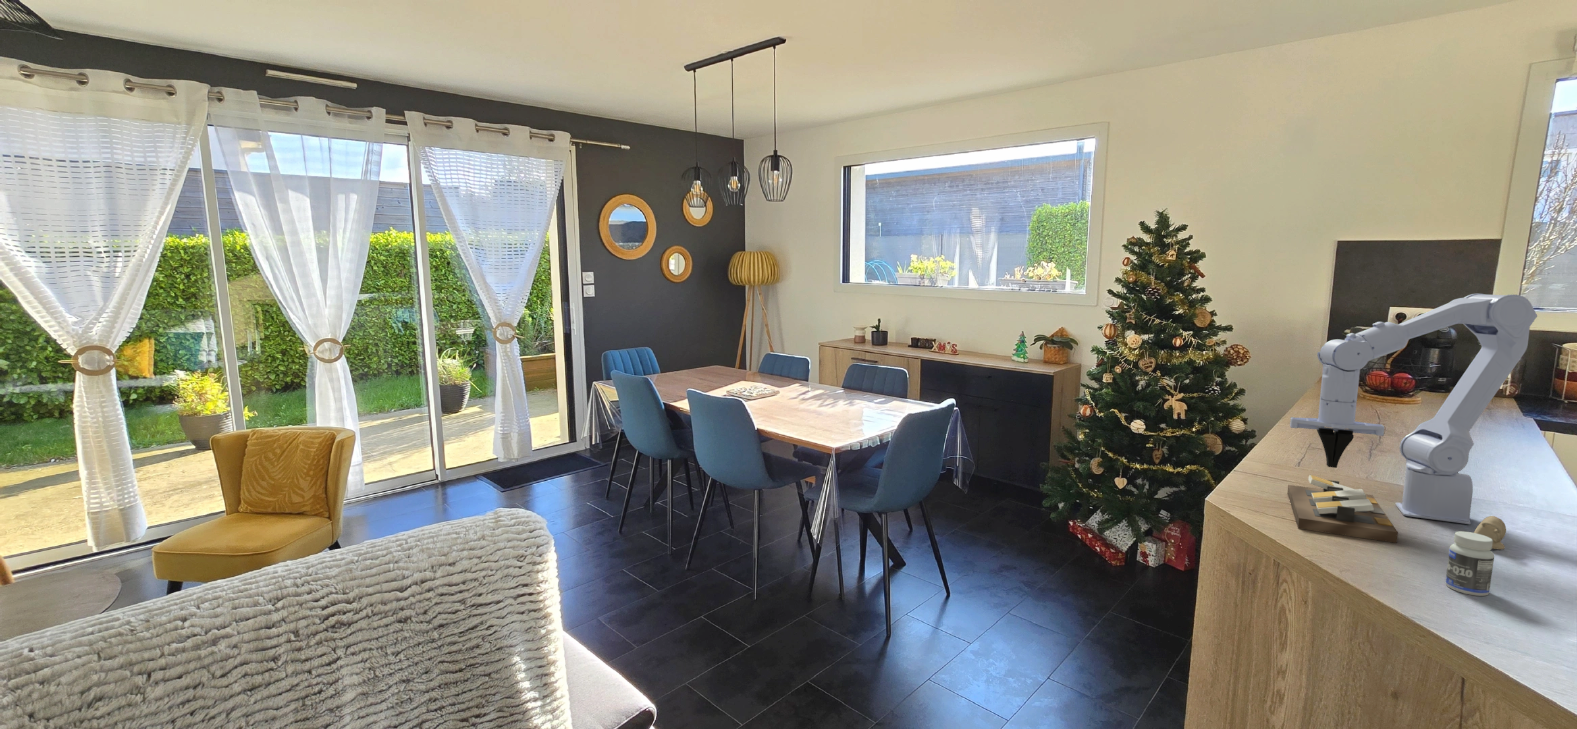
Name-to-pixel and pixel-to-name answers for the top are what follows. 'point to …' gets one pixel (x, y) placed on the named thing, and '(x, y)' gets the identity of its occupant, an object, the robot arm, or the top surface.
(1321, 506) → the rocker near
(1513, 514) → the top surface
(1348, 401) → the robot arm
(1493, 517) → the decorative ornament
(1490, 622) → the top surface
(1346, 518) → the switch panel
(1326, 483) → the block
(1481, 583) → the pill bottle
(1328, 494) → the rocker middle
